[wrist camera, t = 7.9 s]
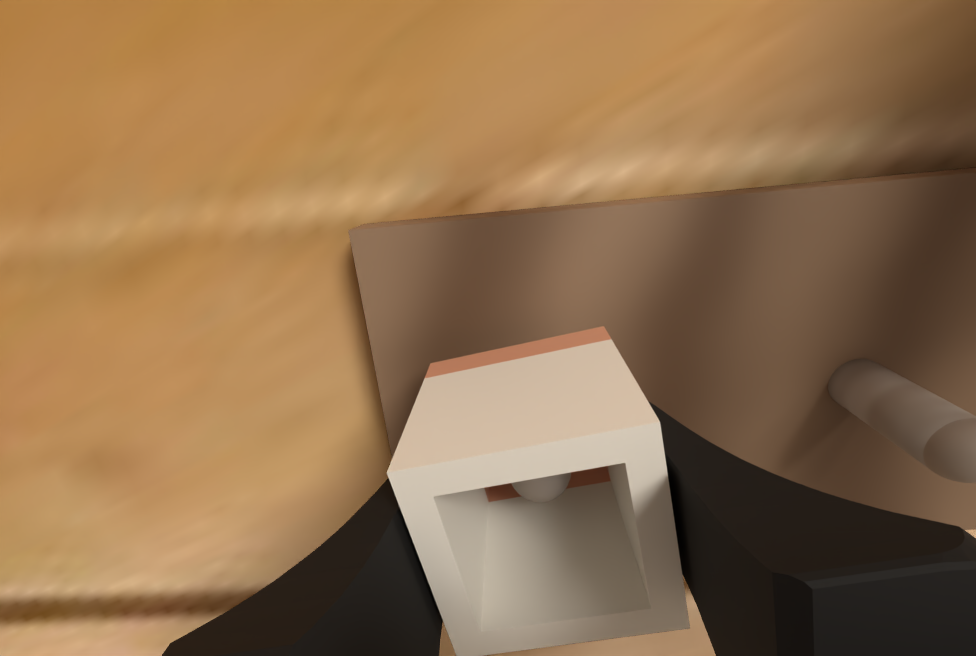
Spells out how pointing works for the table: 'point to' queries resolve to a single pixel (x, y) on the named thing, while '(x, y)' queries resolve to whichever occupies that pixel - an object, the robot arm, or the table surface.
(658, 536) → the sleeve
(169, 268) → the table surface
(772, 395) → the pin board
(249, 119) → the table surface
